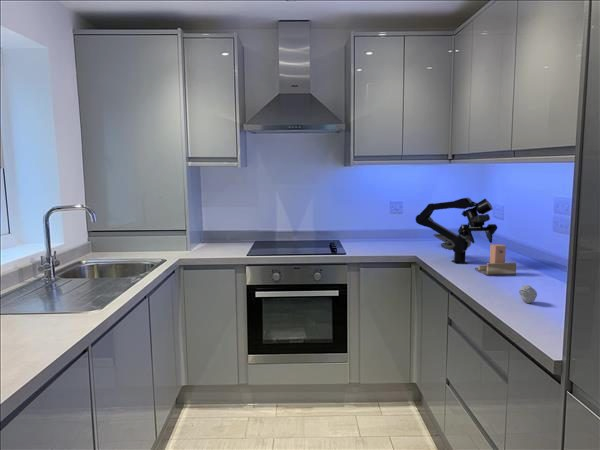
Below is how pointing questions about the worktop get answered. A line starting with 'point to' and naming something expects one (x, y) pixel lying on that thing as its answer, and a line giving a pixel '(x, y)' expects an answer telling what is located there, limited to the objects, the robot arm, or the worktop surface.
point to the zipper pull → (447, 244)
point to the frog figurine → (528, 293)
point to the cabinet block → (497, 253)
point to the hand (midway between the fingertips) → (482, 242)
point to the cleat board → (497, 269)
